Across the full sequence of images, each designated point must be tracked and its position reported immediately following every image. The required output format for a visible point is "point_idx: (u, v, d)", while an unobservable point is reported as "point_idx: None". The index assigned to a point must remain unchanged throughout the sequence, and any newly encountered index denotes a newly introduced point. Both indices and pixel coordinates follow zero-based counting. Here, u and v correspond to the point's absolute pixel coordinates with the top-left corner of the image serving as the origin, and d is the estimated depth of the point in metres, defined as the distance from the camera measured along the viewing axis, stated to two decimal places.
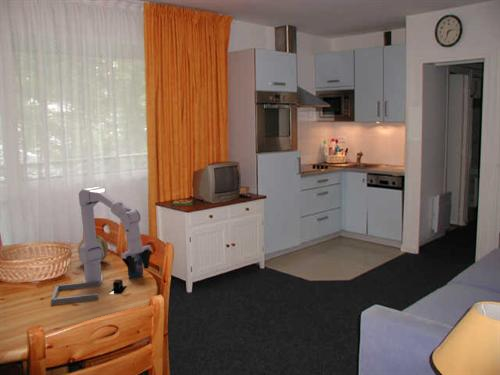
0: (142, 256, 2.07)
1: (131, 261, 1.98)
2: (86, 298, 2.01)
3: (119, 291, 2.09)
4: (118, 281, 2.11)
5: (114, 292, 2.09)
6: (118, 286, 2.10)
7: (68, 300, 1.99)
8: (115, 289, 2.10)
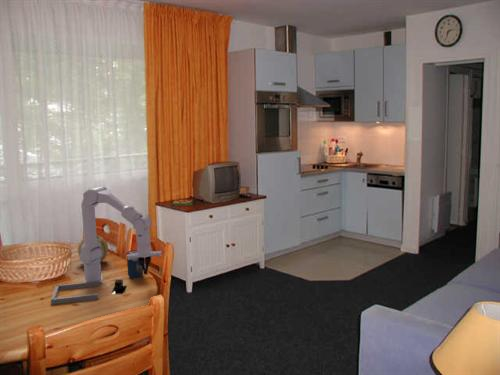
0: None
1: (141, 263, 2.11)
2: (86, 298, 2.01)
3: (121, 291, 2.10)
4: (119, 281, 2.11)
5: (116, 292, 2.09)
6: (120, 286, 2.10)
7: (68, 300, 1.99)
8: (117, 289, 2.10)
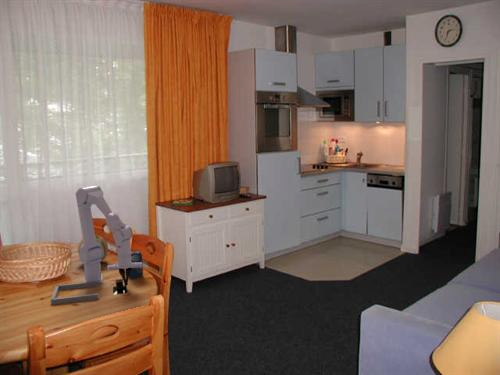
0: None
1: (121, 274, 2.10)
2: (86, 298, 2.01)
3: (123, 290, 2.10)
4: (120, 281, 2.11)
5: (119, 292, 2.09)
6: (121, 285, 2.10)
7: (68, 300, 1.99)
8: (118, 289, 2.10)
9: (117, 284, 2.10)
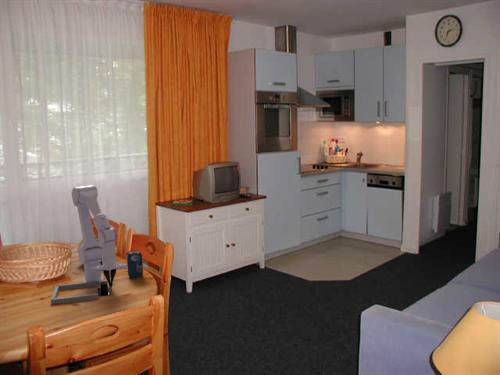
0: None
1: (106, 276, 2.08)
2: (86, 298, 2.01)
3: (107, 292, 2.08)
4: (105, 283, 2.09)
5: (103, 294, 2.07)
6: (106, 288, 2.08)
7: (68, 300, 1.99)
8: (103, 291, 2.08)
9: (101, 286, 2.08)
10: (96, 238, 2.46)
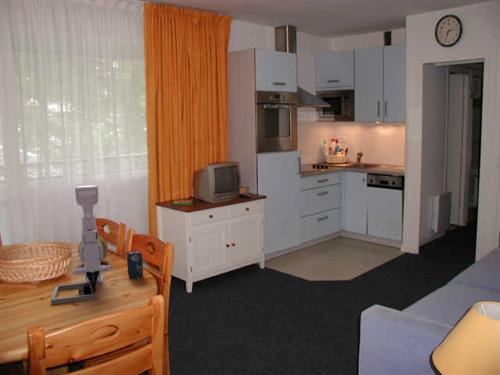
0: None
1: (88, 278, 2.06)
2: (86, 298, 2.01)
3: None
4: (88, 284, 2.07)
5: None
6: (89, 289, 2.06)
7: (68, 300, 1.99)
8: (86, 293, 2.06)
9: (84, 288, 2.05)
10: None
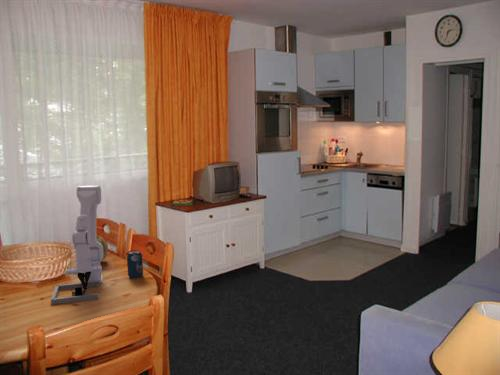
0: None
1: (80, 278, 2.05)
2: (86, 298, 2.01)
3: None
4: (79, 286, 2.06)
5: None
6: (80, 291, 2.05)
7: (68, 300, 1.99)
8: (77, 294, 2.05)
9: (76, 290, 2.04)
10: None
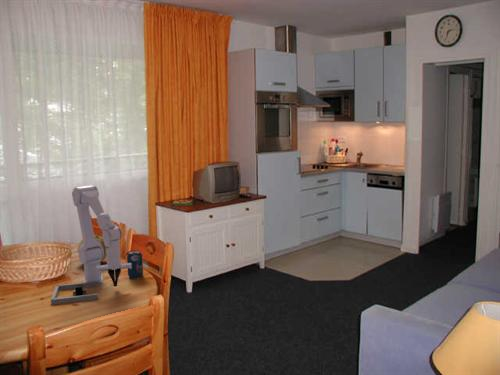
0: None
1: (110, 275, 2.08)
2: (86, 298, 2.01)
3: None
4: (80, 286, 2.06)
5: None
6: (81, 291, 2.05)
7: (68, 300, 1.99)
8: (78, 294, 2.05)
9: (76, 289, 2.05)
10: (96, 238, 2.46)
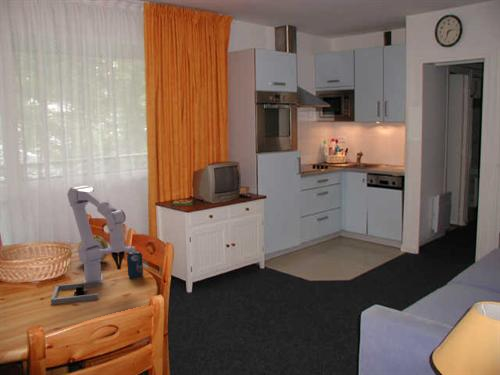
0: None
1: (114, 258, 2.08)
2: (86, 298, 2.01)
3: None
4: (81, 286, 2.06)
5: None
6: (81, 291, 2.05)
7: (68, 300, 1.99)
8: (78, 294, 2.05)
9: (77, 289, 2.05)
10: (96, 238, 2.46)
